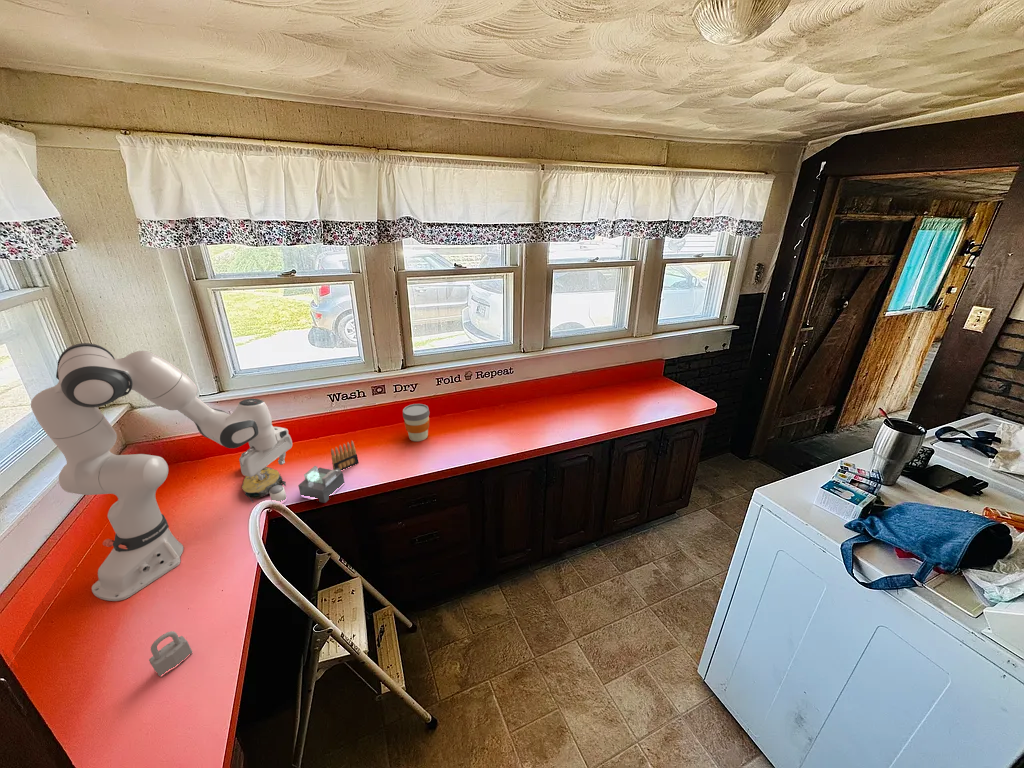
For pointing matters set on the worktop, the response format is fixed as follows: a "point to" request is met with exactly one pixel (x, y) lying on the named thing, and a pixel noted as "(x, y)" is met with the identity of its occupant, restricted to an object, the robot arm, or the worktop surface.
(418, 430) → the reusable coffee cup
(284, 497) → the white domed cylinder
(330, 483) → the motor
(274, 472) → the pulley block
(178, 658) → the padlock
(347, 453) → the ammunition clip
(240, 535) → the worktop surface
